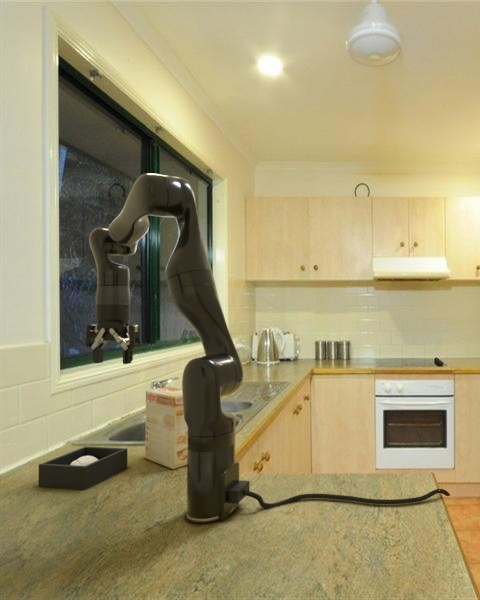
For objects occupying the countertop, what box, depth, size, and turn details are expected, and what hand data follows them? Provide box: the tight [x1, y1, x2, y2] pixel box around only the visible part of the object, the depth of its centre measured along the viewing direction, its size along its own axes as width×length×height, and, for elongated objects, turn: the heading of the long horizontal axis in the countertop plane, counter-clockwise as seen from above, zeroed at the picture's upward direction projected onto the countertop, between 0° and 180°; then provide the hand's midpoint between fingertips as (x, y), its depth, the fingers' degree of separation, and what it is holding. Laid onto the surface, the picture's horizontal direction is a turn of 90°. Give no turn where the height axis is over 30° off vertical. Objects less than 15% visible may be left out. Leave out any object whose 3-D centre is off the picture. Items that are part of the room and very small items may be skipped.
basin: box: [38, 446, 128, 491], centre depth 102 cm, size 13×13×5 cm
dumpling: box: [70, 456, 98, 466], centre depth 102 cm, size 7×5×4 cm
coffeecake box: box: [144, 386, 188, 470], centre depth 114 cm, size 15×7×20 cm, turn 58°
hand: (112, 363), depth 108 cm, fingers open, 8 cm apart
